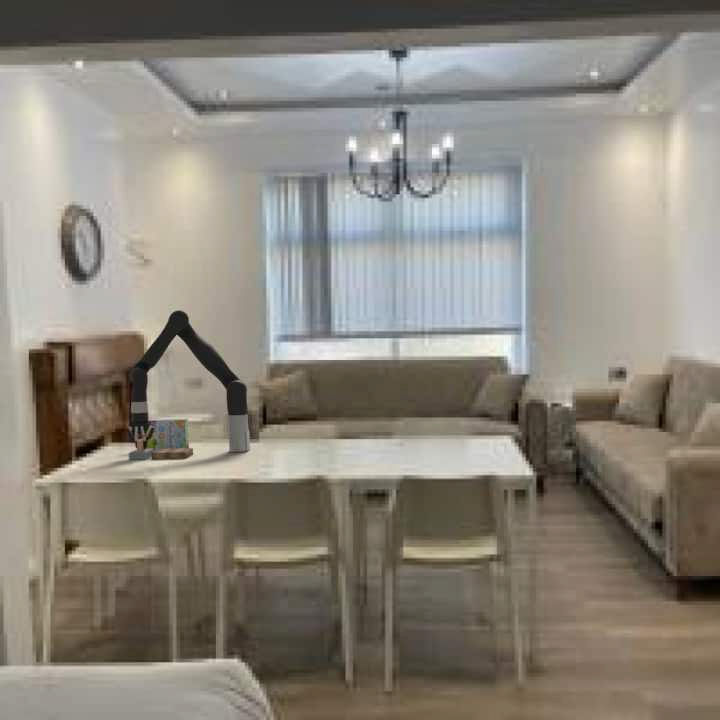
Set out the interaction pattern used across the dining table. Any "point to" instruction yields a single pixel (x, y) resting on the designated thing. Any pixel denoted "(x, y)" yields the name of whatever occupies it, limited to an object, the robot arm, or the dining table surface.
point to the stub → (140, 452)
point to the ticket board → (172, 453)
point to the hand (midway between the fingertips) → (141, 448)
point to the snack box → (168, 434)
